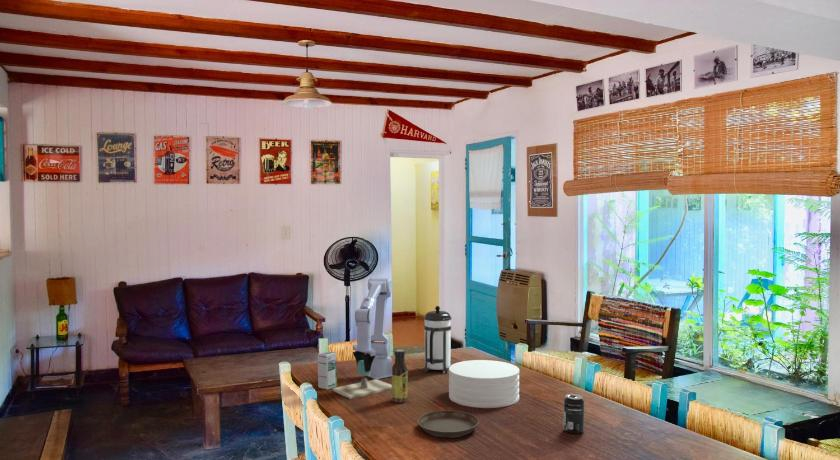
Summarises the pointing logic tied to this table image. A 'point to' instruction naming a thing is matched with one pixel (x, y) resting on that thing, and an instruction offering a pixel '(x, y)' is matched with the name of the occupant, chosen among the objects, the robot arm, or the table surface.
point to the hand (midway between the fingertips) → (364, 369)
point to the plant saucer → (448, 423)
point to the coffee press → (437, 340)
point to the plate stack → (484, 383)
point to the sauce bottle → (399, 378)
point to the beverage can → (573, 413)
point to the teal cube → (362, 368)
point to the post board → (363, 388)
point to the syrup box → (327, 370)
